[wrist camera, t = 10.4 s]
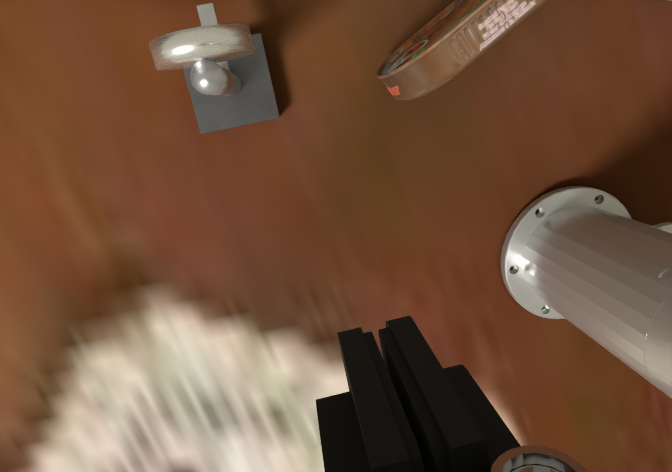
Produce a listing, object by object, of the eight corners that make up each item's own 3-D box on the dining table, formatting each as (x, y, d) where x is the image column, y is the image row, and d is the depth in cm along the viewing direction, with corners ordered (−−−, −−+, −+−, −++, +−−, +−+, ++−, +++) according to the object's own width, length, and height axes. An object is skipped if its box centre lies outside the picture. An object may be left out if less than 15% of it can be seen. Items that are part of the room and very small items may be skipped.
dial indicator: (255, 9, 34) (241, -51, 20) (279, 117, 36) (281, 128, 23) (174, 25, 34) (104, -26, 20) (203, 132, 36) (159, 153, 22)
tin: (519, -55, 35) (591, -100, 27) (539, -18, 36) (614, -51, 28) (364, 75, 36) (389, 68, 28) (387, 107, 37) (418, 109, 29)
